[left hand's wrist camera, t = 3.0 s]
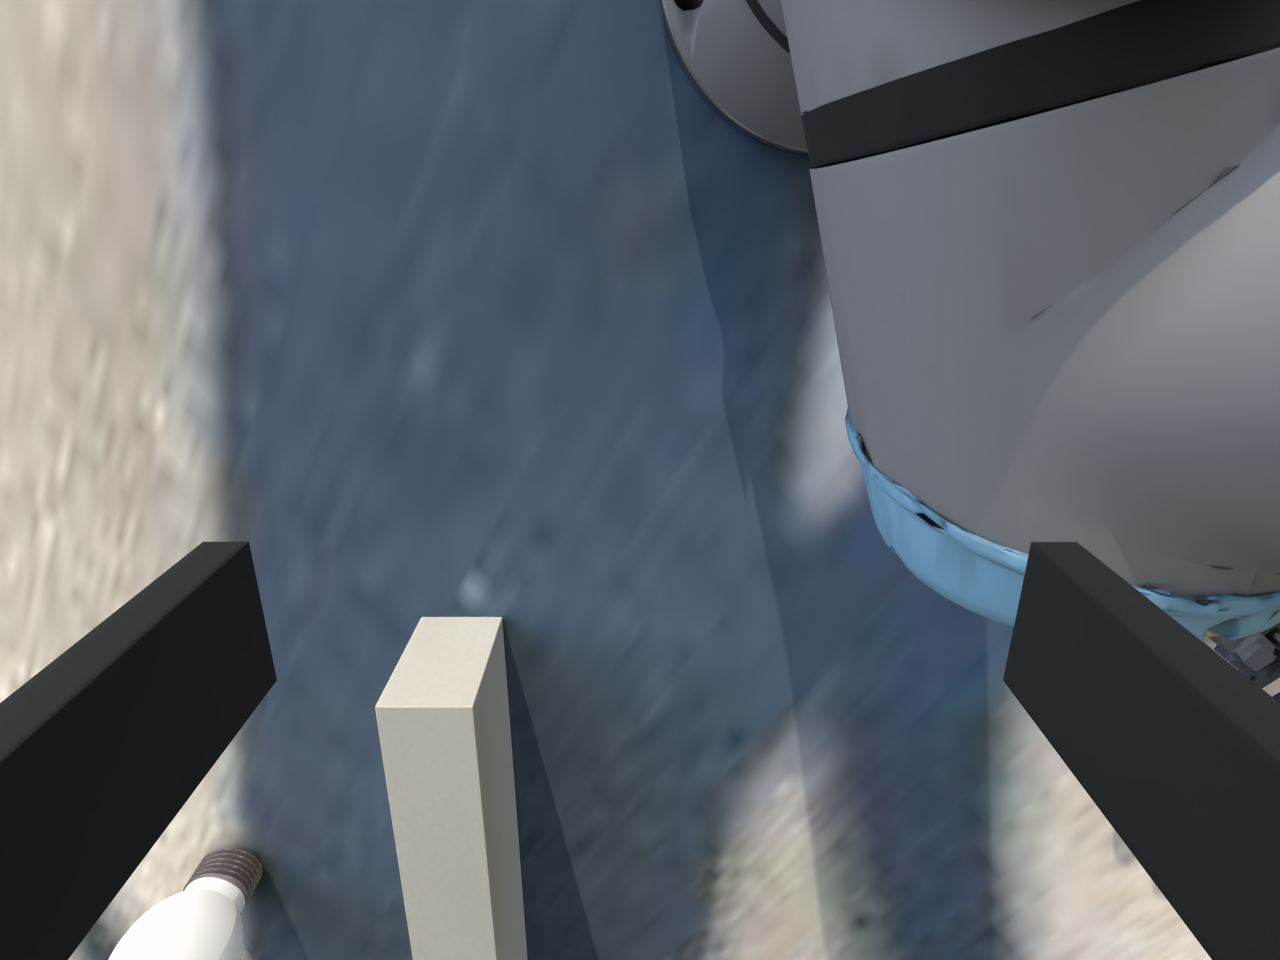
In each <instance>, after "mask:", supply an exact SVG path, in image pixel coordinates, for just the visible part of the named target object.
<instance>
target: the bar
mask: <svg viewBox="0 0 1280 960" xmlns="http://www.w3.org/2000/svg"><path fill="white" fill-rule="evenodd" d="M375 709H376V716H377V723H378V729H379V736H380V743H381V749H382V756H383V763H384V770H385V776H386V783H387V790H388V796H389V803H390V810H391V816H392V823H393V830H394V836H395V843H396V850H397V856H398V863H399V870H400V876H401V883H402V890H403V897H404V903H405V910H406V917H407V923H408V930H409V937H410V943H411V950H412V957H413V960H528V959H527V945H526V932H525V918H524V905H523V891H522V878H521V864H520V851H519V837H518V824H517V810H516V797H515V783H514V770H513V756H512V743H511V729H510V716H509V702H508V689H507V676H506V662H505V649H504V635H503V622H502V617H421V619H420V621H419V623H418V625H417V627H416V629H415V631H414V633H413V635H412V637H411V639H410V641H409V642H408V644H407V646H406V648H405V650H404V652H403V654H402V656H401V658H400V660H399V662H398V664H397V666H396V668H395V670H394V671H393V673H392V675H391V677H390V679H389V681H388V683H387V685H386V687H385V689H384V691H383V693H382V695H381V697H380V699H379V701H378V702H377V704H376V706H375Z"/></svg>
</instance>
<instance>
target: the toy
mask: <svg viewBox="0 0 1280 960" xmlns="http://www.w3.org/2000/svg"><path fill="white" fill-rule="evenodd" d="M1205 635H1207V636H1208V637H1209V638H1210V639H1211V640H1212V641H1214V642H1215V643H1216V644H1217V646H1216V647H1215V649H1214V650H1215V651H1216V652H1218V653H1219V654H1220V655H1221V656H1222V657H1224V658H1225V659H1226V660H1227V661H1228V662H1230V663H1231V664H1232V665H1233V666H1235V667H1236V668H1237V669H1238V670H1239V671H1240V672H1241V673H1242V674H1244V675H1245V676H1246V677H1247V678H1249V679H1250V680H1251V681H1252V682H1254V683H1255V684H1256V685H1257V686H1259V687H1260V688H1261V689H1262V688H1264V687H1265V686H1267V685H1268V684H1270V683H1271V682H1273V681H1275V680H1276V679H1278V678H1279V677H1280V623H1278V624H1276V625H1274V626H1272V627H1270V628H1268V629H1266V630H1264V631H1262V632H1259V633H1256V634H1252V635H1249V636H1245V637H1242V638H1238V639H1234V640H1232V639H1228V638H1225V637H1221V636H1219V635H1216V634H1213V633H1211V632H1208V631H1206V634H1205ZM1272 698H1274V699H1275V700H1276V701H1277V702H1279V703H1280V692H1279V693H1278V694H1276V695H1274V696H1273V697H1272Z"/></svg>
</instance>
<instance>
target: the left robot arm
mask: <svg viewBox="0 0 1280 960" xmlns="http://www.w3.org/2000/svg"><path fill="white" fill-rule="evenodd" d="M660 5H661V11H662V15H663V19H664V23H665V26H666V30H667V33H668V36H669V39H670V41H671V44H672V47H673V50H674V52H675V54H676V56H677V58H678V60H679V62H680V64H681V67H682V68H683V70H684V72H685V73H686V75H687V77H688V78H689V80H690V82H691V83H692V84H693V86H694V87H695V89H696V90H697V91H698V93H699V94H700V95H701V97H702V98H703V99H704V100H705V101H706V102H707V103H708V104H709V106H710V107H711V108H712V109H713V110H714V111H715V112H716V113H717V114H719V115H720V116H721V117H722V118H723V119H724V120H725V121H726V122H728V123H729V124H731V125H732V126H733V127H735V128H736V129H737V130H739V131H740V132H742V133H744V134H746V135H747V136H749V137H751V138H753V139H755V140H757V141H759V142H761V143H764V144H766V145H768V146H771V147H774V148H778V149H781V150H784V151H789V152H794V153H799V154H808V156H809V161H810V176H811V182H812V188H813V194H814V200H815V206H816V212H817V218H818V225H819V231H820V237H821V243H822V249H823V255H824V261H825V267H826V274H827V280H828V286H829V292H830V298H831V304H832V310H833V317H834V323H835V329H836V335H837V341H838V347H839V353H840V359H841V366H842V372H843V378H844V384H845V390H846V396H847V402H848V410H847V414H846V419H845V421H846V428H847V433H848V438H849V441H850V443H851V446H852V448H853V451H854V453H855V454H856V456H857V457H858V459H859V460H860V462H861V465H862V470H863V474H864V478H865V483H866V487H867V492H868V496H869V501H870V505H871V510H872V513H873V517H874V520H875V523H876V526H877V528H878V530H879V532H880V534H881V536H882V538H883V539H884V541H885V543H886V544H887V546H888V547H889V548H890V549H891V550H892V551H894V552H895V553H896V554H897V555H898V556H899V557H900V558H901V560H902V561H903V563H904V564H905V566H906V567H907V568H908V569H909V570H910V571H911V572H912V573H913V574H914V575H915V576H916V577H917V578H918V579H919V580H920V581H921V582H923V583H924V584H926V585H927V586H929V587H930V588H932V589H933V590H934V591H936V592H937V593H939V594H940V595H942V596H943V597H945V598H947V599H949V600H950V601H952V602H954V603H956V604H957V605H959V606H961V607H963V608H965V609H967V610H969V611H972V612H974V613H976V614H979V615H981V616H983V617H986V618H988V619H991V620H993V621H996V622H998V623H1001V624H1004V625H1007V626H1011V627H1014V629H1013V634H1012V639H1011V644H1010V649H1009V654H1008V659H1007V664H1006V669H1005V674H1004V679H1003V681H1004V682H1005V683H1006V685H1007V686H1008V687H1009V689H1010V690H1011V691H1012V693H1013V694H1014V695H1015V697H1016V698H1017V699H1018V701H1019V702H1020V703H1021V705H1022V706H1023V707H1024V709H1025V710H1026V711H1027V713H1028V714H1029V715H1030V717H1031V718H1032V719H1033V721H1034V722H1035V723H1036V725H1037V726H1038V727H1039V729H1040V730H1041V731H1042V733H1043V734H1044V735H1045V737H1046V738H1047V739H1048V741H1049V742H1050V743H1051V745H1052V746H1053V747H1054V749H1055V750H1056V751H1057V753H1058V754H1059V755H1060V757H1061V758H1062V759H1063V761H1064V762H1065V764H1066V765H1067V766H1068V768H1069V769H1070V770H1071V772H1072V773H1073V774H1074V776H1075V777H1076V778H1077V780H1078V781H1079V782H1080V784H1081V785H1082V786H1083V788H1084V789H1085V790H1086V792H1087V793H1088V794H1089V796H1090V797H1091V798H1092V800H1093V801H1094V802H1095V804H1096V805H1097V806H1098V808H1099V809H1100V810H1101V812H1102V813H1103V814H1104V816H1105V817H1106V818H1107V820H1108V821H1109V822H1110V824H1111V825H1112V826H1113V828H1114V829H1115V830H1116V832H1117V833H1118V834H1119V836H1120V837H1121V838H1122V840H1123V841H1124V842H1125V844H1126V845H1127V846H1128V848H1129V849H1130V850H1131V852H1132V853H1133V854H1134V856H1135V857H1136V858H1137V860H1138V861H1139V862H1140V864H1141V865H1142V866H1143V868H1144V869H1145V871H1146V872H1147V873H1148V875H1149V876H1150V877H1151V879H1152V880H1153V881H1154V883H1155V884H1156V885H1157V887H1158V888H1159V889H1160V891H1161V892H1162V893H1163V895H1164V896H1165V897H1166V899H1167V900H1168V901H1169V903H1170V904H1171V905H1172V907H1173V908H1174V909H1175V911H1176V912H1177V913H1178V915H1179V916H1180V917H1181V919H1182V920H1183V921H1184V923H1185V924H1186V925H1187V927H1188V928H1189V929H1190V931H1191V932H1192V933H1193V935H1194V936H1195V937H1196V939H1197V940H1198V941H1199V943H1200V944H1201V945H1202V947H1203V948H1204V949H1205V951H1206V952H1207V953H1208V955H1209V956H1210V957H1211V959H1212V960H1280V703H1279V702H1277V701H1276V700H1275V699H1274V698H1272V697H1271V696H1270V695H1269V694H1267V693H1266V692H1265V691H1264V690H1262V689H1261V688H1260V687H1259V686H1257V685H1256V684H1255V683H1254V682H1252V681H1251V680H1250V679H1249V678H1247V677H1246V676H1245V675H1244V674H1242V673H1241V672H1240V671H1238V670H1237V669H1236V668H1235V667H1233V666H1232V665H1231V664H1230V663H1228V662H1227V661H1226V660H1225V659H1223V658H1222V657H1221V656H1220V655H1218V654H1217V653H1216V652H1215V651H1213V650H1212V649H1211V648H1210V647H1208V646H1207V645H1206V644H1205V643H1203V642H1202V641H1201V640H1202V639H1203V638H1204V637H1205V634H1206V631H1208V632H1211V633H1213V634H1216V635H1219V636H1221V637H1225V638H1228V639H1232V640H1234V639H1238V638H1242V637H1245V636H1249V635H1252V634H1256V633H1259V632H1262V631H1264V630H1266V629H1268V628H1270V627H1272V626H1274V625H1276V624H1278V623H1280V0H660ZM276 681H277V679H276V674H275V669H274V664H273V659H272V654H271V649H270V644H269V639H268V634H267V629H266V624H265V619H264V614H263V609H262V604H261V600H260V595H259V590H258V585H257V580H256V575H255V570H254V565H253V560H252V555H251V550H250V545H249V542H202V543H201V544H200V545H199V546H197V547H196V548H195V549H194V550H192V551H191V552H190V553H189V554H187V555H186V556H185V557H184V558H182V559H181V560H180V561H179V562H177V563H176V564H175V565H174V566H172V567H171V568H170V569H168V570H167V571H166V572H165V573H163V574H162V575H161V576H160V577H158V578H157V579H156V580H155V581H153V582H152V583H151V584H150V585H148V586H147V587H146V588H145V589H143V590H142V591H141V592H140V593H138V594H137V595H136V596H135V597H133V598H132V599H131V600H130V601H128V602H127V603H126V604H124V605H123V606H122V607H121V608H119V609H118V610H117V611H116V612H114V613H113V614H112V615H111V616H109V617H108V618H107V619H106V620H104V621H103V622H102V623H101V624H99V625H98V626H97V627H96V628H94V629H93V630H92V631H91V632H89V633H88V634H87V635H86V636H84V637H83V638H82V639H80V640H79V641H78V642H77V643H75V644H74V645H73V646H72V647H70V648H69V649H68V650H67V651H65V652H64V653H63V654H62V655H60V656H59V657H58V658H57V659H55V660H54V661H53V662H52V663H50V664H49V665H48V666H47V667H45V668H44V669H43V670H42V671H40V672H39V673H38V674H36V675H35V676H34V677H33V678H31V679H30V680H29V681H28V682H26V683H25V684H24V685H23V686H21V687H20V688H19V689H18V690H16V691H15V692H14V693H13V694H11V695H10V696H9V697H8V698H6V699H5V700H4V701H3V702H1V703H0V960H68V959H69V957H70V956H71V955H72V953H73V952H74V951H75V949H76V948H77V947H78V945H79V944H80V943H81V941H82V940H83V939H84V937H85V936H86V935H87V933H88V932H89V931H90V929H91V928H92V927H93V925H94V924H95V923H96V921H97V920H98V919H99V917H100V916H101V915H102V913H103V912H104V911H105V909H106V908H107V907H108V905H109V904H110V903H111V901H112V900H113V899H114V897H115V896H116V895H117V893H118V892H119V891H120V889H121V888H122V887H123V885H124V884H125V883H126V881H127V880H128V879H129V877H130V876H131V875H132V873H133V872H134V871H135V869H136V868H137V866H138V865H139V864H140V862H141V861H142V860H143V858H144V857H145V856H146V854H147V853H148V852H149V850H150V849H151V848H152V846H153V845H154V844H155V842H156V841H157V840H158V838H159V837H160V836H161V834H162V833H163V832H164V830H165V829H166V828H167V826H168V825H169V824H170V822H171V821H172V820H173V818H174V817H175V816H176V814H177V813H178V812H179V810H180V809H181V808H182V806H183V805H184V804H185V802H186V801H187V800H188V798H189V797H190V796H191V794H192V793H193V792H194V790H195V789H196V788H197V786H198V785H199V784H200V782H201V781H202V780H203V778H204V777H205V776H206V774H207V773H208V772H209V770H210V769H211V768H212V766H213V765H214V764H215V762H216V761H217V759H218V758H219V757H220V755H221V754H222V753H223V751H224V750H225V749H226V747H227V746H228V745H229V743H230V742H231V741H232V739H233V738H234V737H235V735H236V734H237V733H238V731H239V730H240V729H241V727H242V726H243V725H244V723H245V722H246V721H247V719H248V718H249V717H250V715H251V714H252V713H253V711H254V710H255V709H256V707H257V706H258V705H259V703H260V702H261V701H262V699H263V698H264V697H265V695H266V694H267V693H268V691H269V690H270V689H271V687H272V686H273V685H274V683H275V682H276Z"/></svg>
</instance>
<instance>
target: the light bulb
mask: <svg viewBox="0 0 1280 960" xmlns="http://www.w3.org/2000/svg"><path fill="white" fill-rule="evenodd" d="M262 872H263V870H262V866H261V863H260V862H259V861H258V859H257V858H256V857H254V856H253V855H252V854H250V853H248V852H246V851H243V850H239V849H231V848H227V849H220V850H216V851H214V852H211V853H209V854H208V855H207V856H205V857H204V858H203V860H202V861H201V863H200V864H199V866H198V868H197V869H196V870H195V872H194V873H193V875H192V877H191V878H190V879H189V881H188V883H187V884H186V885H185V887H184V889H183V892H180V893H178V894H175V895H173V896H171V897H169V898H166V899H164V900H162V901H161V902H159V903H158V904H157V905H155V906H154V907H152V908H151V909H149V910H148V911H147V912H145V913H144V914H143V915H142V916H141V917H140V918H139V919H138V920H137V921H136V922H135V923H134V924H133V925H132V926H131V927H130V929H129V930H128V931H127V932H126V934H125V935H124V936H123V937H122V939H121V940H120V941H119V942H118V944H117V946H116V947H115V949H114V951H113V952H112V954H111V956H110V957H109V960H241V956H242V951H243V942H244V931H243V924H242V918H241V916H240V915H241V913H242V911H243V909H244V907H245V905H246V903H247V901H248V900H249V898H250V896H251V894H252V893H253V890H254V889H255V887H256V885H257V883H258V882H259V880H260V878H261V876H262Z"/></svg>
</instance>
